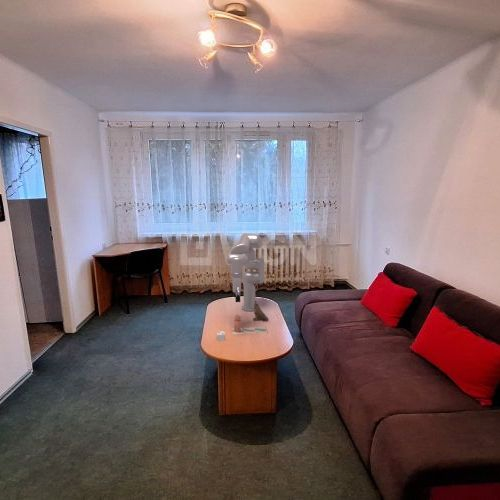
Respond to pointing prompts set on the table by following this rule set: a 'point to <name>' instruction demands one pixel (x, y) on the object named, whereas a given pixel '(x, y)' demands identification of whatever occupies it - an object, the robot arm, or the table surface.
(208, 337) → the table surface
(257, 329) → the game board
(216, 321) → the table surface
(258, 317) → the worn brown figurine
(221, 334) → the die
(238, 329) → the pink cylindrical peg
